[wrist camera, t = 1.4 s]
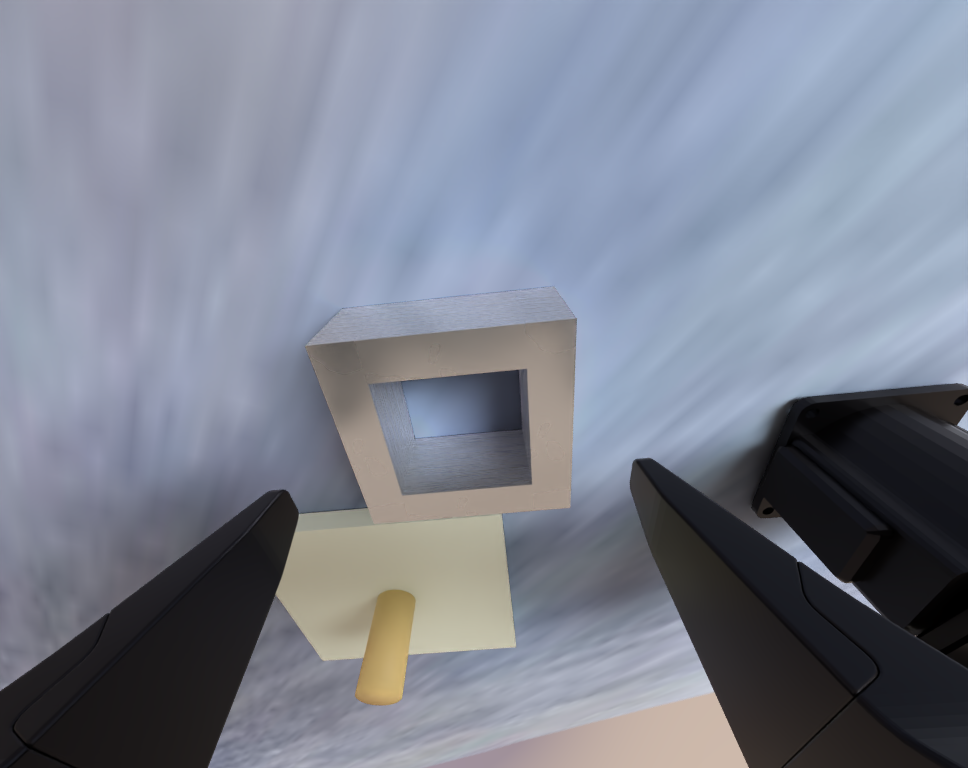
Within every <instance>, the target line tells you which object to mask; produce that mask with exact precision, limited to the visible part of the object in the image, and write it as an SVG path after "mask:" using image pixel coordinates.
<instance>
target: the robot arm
mask: <svg viewBox="0 0 968 768" xmlns="http://www.w3.org/2000/svg"><path fill="white" fill-rule="evenodd" d="M967 410H968V386H966V385H963V384H958V383H956V384H945V385H934V386H924V387H913V388H902V389H891V390H880V391H869V392H858V393H847V394H837V395H826V396H815V397H807V398H803V399H801V400H799V401H797V402H796V403H795V404H794V405H793V407H792V408H791V410H790V412H789V415H788V417H787V420H786V422H785V425H784V427H783V430H782V432H781V434H780V437H779V439H778V442H777V444H776V447H775V449H774V451H773V454H772V456H771V459H770V461H769V464H768V466H767V469H766V471H765V473H764V476H763V478H762V481H761V483H760V486H759V488H758V490H757V493H756V495H755V498H754V500H753V503H752V505H751V508H752V510H753V511H754V512H755V513H756V514H757V516H758V517H760V518H774V517H782V518H783V519H784V520H785V521H786V522H787V523H788V525H789V526H790V527H791V528H792V529H793V530H794V531H795V532H796V533H797V535H798V536H799V537H800V538H801V539H802V540H803V541H804V542H805V543H806V545H807V546H808V547H809V548H810V549H811V550H812V551H813V552H814V554H815V555H816V556H817V557H818V558H819V559H820V560H821V561H822V562H823V564H824V565H825V566H826V567H827V568H828V569H829V570H830V571H831V572H832V574H833V575H834V576H835V577H837V578H838V579H839V580H840V581H842V582H844V583H852V584H853V585H854V586H855V587H856V588H857V589H858V590H859V591H860V592H861V593H862V594H863V596H864V597H865V598H866V599H867V600H868V601H869V602H870V603H871V604H872V605H873V606H874V607H875V609H876V610H877V611H878V612H879V613H880V614H881V615H880V614H879V613H877V612H875V611H874V610H872V609H871V608H869V607H867V606H866V605H864V604H863V603H861V602H859V601H858V600H856V599H855V598H853V597H852V596H850V595H849V594H847V593H846V592H844V591H843V590H841V589H840V588H838V587H837V586H835V585H834V584H832V583H831V582H829V581H828V580H826V579H825V578H823V577H822V576H820V575H819V574H818V573H816V572H815V571H813V570H812V569H810V568H809V567H808V566H806V565H805V564H803V563H802V562H797V560H796V558H794V557H793V556H791V555H790V554H789V553H787V552H786V551H784V550H783V549H781V548H780V547H779V546H777V545H776V544H774V543H773V542H771V541H770V540H768V539H767V538H766V537H764V536H763V535H761V534H760V533H758V532H757V531H756V530H754V529H753V528H751V527H750V526H748V525H747V524H745V523H744V522H743V521H741V520H740V519H738V518H737V517H735V516H734V515H732V514H731V513H730V512H728V511H727V510H725V509H724V508H722V507H721V506H720V505H718V504H717V503H715V502H714V501H712V500H711V499H709V498H708V497H707V496H705V495H704V494H702V493H701V492H699V491H698V490H697V489H695V488H694V487H692V486H691V485H689V484H688V483H686V482H685V481H684V480H682V479H681V478H679V477H678V476H676V475H675V474H673V473H672V472H671V471H669V470H668V469H666V468H665V467H663V466H662V465H661V464H659V463H658V462H656V461H655V460H653V459H651V458H642V459H635V460H634V461H633V464H632V471H631V477H630V490H631V493H632V496H633V500H634V503H635V506H636V509H637V512H638V515H639V518H640V521H641V524H642V527H643V530H644V533H645V536H646V539H647V542H648V545H649V548H650V550H651V553H652V555H653V557H654V560H655V562H656V564H657V566H658V568H659V571H660V573H661V575H662V577H663V579H664V582H665V584H666V586H667V588H668V590H669V593H670V595H671V597H672V599H673V601H674V604H675V606H676V608H677V610H678V612H679V615H680V617H681V619H682V621H683V623H684V626H685V628H686V630H687V632H688V634H689V637H690V639H691V641H692V643H693V645H694V648H695V650H696V652H697V654H698V657H699V659H700V661H701V663H702V665H703V668H704V670H705V672H706V674H707V676H708V679H709V681H710V683H711V685H712V687H713V690H714V692H715V694H716V696H717V698H718V701H719V703H720V705H721V707H722V709H723V711H724V714H725V716H726V718H727V720H728V723H729V725H730V727H731V729H732V731H733V734H734V736H735V738H736V740H737V742H738V745H739V747H740V749H741V751H742V753H743V756H744V758H745V760H746V762H747V764H748V767H749V768H968V431H967V430H965V429H963V428H961V427H959V426H957V424H958V423H959V421H960V420H961V419H962V417H963V416H964V414H965V413H966V412H967ZM298 518H299V513H298V509H297V507H296V505H295V503H294V502H293V500H292V498H291V496H290V494H289V492H288V491H286V490H272V491H269V492H267V493H265V494H264V495H263V496H262V497H260V498H259V499H258V500H256V501H255V502H254V503H252V504H251V505H250V506H248V507H247V508H246V509H244V510H243V511H242V512H240V513H239V514H238V515H236V516H235V517H234V518H232V519H231V520H230V521H229V522H227V523H226V524H225V525H223V526H222V527H221V528H219V529H218V530H217V531H215V532H214V533H213V534H211V535H210V536H209V537H207V538H206V539H205V540H203V541H202V542H201V543H199V544H198V545H197V546H196V547H194V548H193V549H192V550H190V551H189V552H188V553H186V554H185V555H184V556H182V557H181V558H180V559H178V560H177V561H176V562H174V563H173V564H172V565H170V566H169V567H168V568H166V569H165V570H164V571H162V572H161V573H160V574H159V575H157V576H156V577H155V578H153V579H152V580H151V581H149V582H148V583H147V584H145V585H144V586H143V587H141V588H140V589H139V590H137V591H136V592H135V593H133V594H132V595H131V596H129V597H128V598H127V599H125V600H124V601H123V602H122V603H120V604H119V605H118V606H116V607H115V608H114V609H112V610H111V612H110V613H107V614H106V615H104V616H103V617H102V618H100V619H99V620H98V621H96V622H95V623H94V624H92V625H91V626H90V627H88V628H87V629H86V630H85V631H83V632H82V633H80V634H79V635H78V636H76V637H75V638H74V639H72V640H71V641H70V642H68V643H67V644H66V645H64V646H63V647H62V648H60V649H59V650H58V651H56V652H55V653H53V654H52V655H51V656H49V657H48V658H46V659H45V660H44V661H42V662H41V663H39V664H38V665H37V666H35V667H34V668H32V669H31V670H30V671H28V672H27V673H25V674H24V675H22V676H21V677H20V678H18V679H17V680H15V681H14V682H13V683H11V684H10V685H8V686H7V687H5V688H4V689H3V690H1V691H0V768H208V766H209V763H210V761H211V758H212V755H213V753H214V750H215V748H216V745H217V743H218V740H219V738H220V735H221V732H222V730H223V727H224V725H225V722H226V720H227V717H228V714H229V712H230V709H231V707H232V704H233V702H234V699H235V697H236V694H237V691H238V689H239V686H240V684H241V681H242V679H243V676H244V673H245V671H246V668H247V666H248V663H249V661H250V658H251V656H252V653H253V650H254V648H255V645H256V643H257V640H258V638H259V635H260V632H261V630H262V627H263V625H264V622H265V620H266V617H267V614H268V612H269V609H270V607H271V604H272V602H273V599H274V597H275V594H276V591H277V589H278V586H279V583H280V581H281V578H282V575H283V572H284V569H285V565H286V562H287V558H288V555H289V551H290V547H291V544H292V540H293V537H294V533H295V530H296V526H297V523H298Z"/></svg>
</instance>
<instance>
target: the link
mask: <svg viewBox="0 0 968 768" xmlns="http://www.w3.org/2000/svg"><path fill="white" fill-rule="evenodd" d="M576 325H577V318H576V317H575V315H574V314H573V312H572V311H571V310H570V308H569V307H568V305H567V304H566V302H565V301H564V300H563V298H562V297H561V295H560V294H559V293H558V291H557V290H556V288H555V287H554V286H553V287H543V288H534V289H524V290H514V291H505V292H495V293H486V294H476V295H467V296H457V297H447V298H438V299H428V300H419V301H409V302H400V303H390V304H380V305H371V306H361V307H352V308H342V309H341V310H340V311H339V312H338V313H337V314H336V315H335V316H334V317H333V318H332V319H331V320H330V321H329V322H328V323H327V324H326V325H325V326H324V327H323V328H322V329H321V330H320V331H319V332H318V333H317V334H316V335H315V336H314V337H313V338H312V339H311V340H310V341H309V342H308V343H307V344H306V345H305V348H306V350H307V353H308V355H309V358H310V360H311V363H312V366H313V368H314V371H315V373H316V376H317V378H318V381H319V384H320V386H321V389H322V391H323V394H324V396H325V399H326V402H327V404H328V407H329V409H330V412H331V414H332V417H333V420H334V422H335V425H336V427H337V430H338V432H339V435H340V438H341V440H342V443H343V445H344V448H345V450H346V453H347V456H348V458H349V461H350V463H351V466H352V468H353V471H354V474H355V476H356V479H357V481H358V484H359V486H360V489H361V492H362V494H363V497H364V499H365V502H366V504H367V507H368V510H369V512H370V515H371V517H372V520H373V522H374V524H381V523H393V522H405V521H417V520H429V519H441V518H453V517H465V516H477V515H489V514H501V513H513V512H525V511H537V510H549V509H561V508H570V500H571V471H572V442H573V412H574V383H575V354H576ZM509 370H519V384H520V401H521V419H522V429H519V430H508V431H497V432H486V433H475V434H464V435H453V436H442V437H431V438H420V439H415V436H414V432H413V428H412V424H411V420H410V416H409V412H408V408H407V404H406V400H405V396H404V393H403V389H402V385H401V381H406V380H416V379H427V378H437V377H447V376H457V375H468V374H478V373H488V372H499V371H509Z"/></svg>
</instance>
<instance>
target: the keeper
mask: <svg viewBox="0 0 968 768" xmlns="http://www.w3.org/2000/svg"><path fill="white" fill-rule="evenodd" d="M276 596H277V597H278V598H279V600H280V601H281V603H282V604H283V605H284V607H285V608H286V610H287V611H288V612H289V614H290V615H291V617H292V618H293V620H294V621H295V622H296V624H297V625H298V627H299V628H300V629H301V631H302V632H303V634H304V635H305V636H306V638H307V639H308V641H309V642H310V643H311V645H312V646H313V648H314V649H315V651H316V652H317V653H318V655H319V656H320V658H321V659H322V660H323V661H327V660H341V659H355V658H363V662H362V667H361V671H360V675H359V680H358V684H357V688H356V692H355V697H356V698H357V699H358V700H359V701H361V702H364V703H367V704H371V705H390V704H394V703H397V702H399V701H400V700H401V699H402V694H403V687H404V680H405V673H406V666H407V659H408V655H412V654H426V653H440V652H454V651H468V650H483V649H497V648H511V647H516V642H515V630H514V620H513V611H512V602H511V593H510V584H509V575H508V566H507V557H506V548H505V539H504V530H503V521H502V513H501V514H489V515H477V516H465V517H453V518H441V519H429V520H417V521H405V522H393V523H381V524H374V522H373V520H372V517H371V515H370V512H369V510H368V508H364V509H352V510H340V511H328V512H317V513H305V514H299V518H298V523H297V526H296V530H295V533H294V537H293V540H292V544H291V547H290V551H289V555H288V558H287V562H286V565H285V569H284V572H283V575H282V578H281V581H280V583H279V586H278V589H277V591H276Z"/></svg>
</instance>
